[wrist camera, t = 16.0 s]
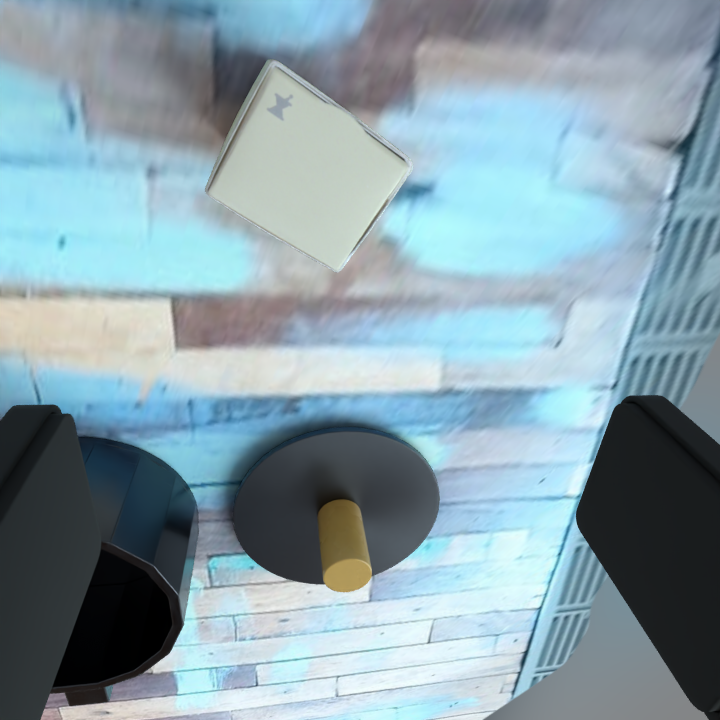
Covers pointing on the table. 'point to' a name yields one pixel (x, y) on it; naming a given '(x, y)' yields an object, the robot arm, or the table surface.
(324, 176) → the box
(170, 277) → the table surface
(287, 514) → the lid
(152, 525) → the pot
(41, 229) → the table surface
